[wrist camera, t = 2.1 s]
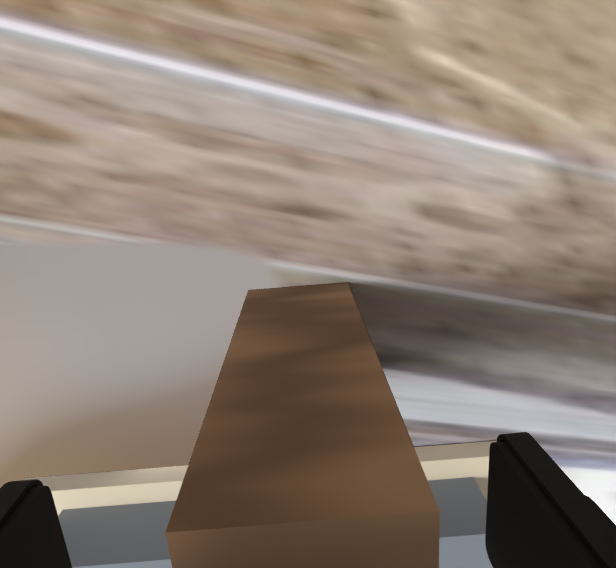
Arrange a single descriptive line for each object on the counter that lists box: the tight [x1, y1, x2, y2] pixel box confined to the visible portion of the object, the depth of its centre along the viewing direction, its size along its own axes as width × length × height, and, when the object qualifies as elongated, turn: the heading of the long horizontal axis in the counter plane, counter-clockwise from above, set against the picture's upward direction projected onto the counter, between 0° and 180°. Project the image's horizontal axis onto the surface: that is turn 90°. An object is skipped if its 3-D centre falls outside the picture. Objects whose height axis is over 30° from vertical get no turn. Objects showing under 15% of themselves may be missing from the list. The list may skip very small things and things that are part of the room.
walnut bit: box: [165, 283, 440, 568], centre depth 13 cm, size 4×4×12 cm
